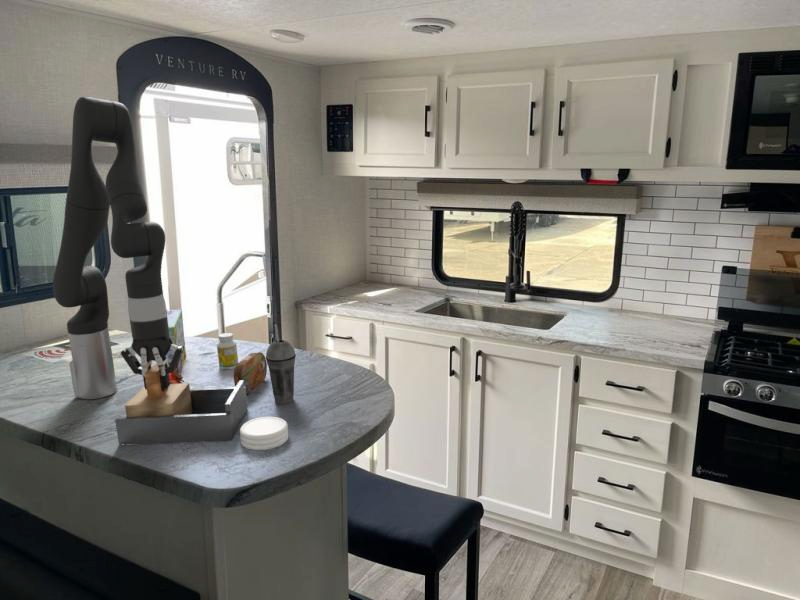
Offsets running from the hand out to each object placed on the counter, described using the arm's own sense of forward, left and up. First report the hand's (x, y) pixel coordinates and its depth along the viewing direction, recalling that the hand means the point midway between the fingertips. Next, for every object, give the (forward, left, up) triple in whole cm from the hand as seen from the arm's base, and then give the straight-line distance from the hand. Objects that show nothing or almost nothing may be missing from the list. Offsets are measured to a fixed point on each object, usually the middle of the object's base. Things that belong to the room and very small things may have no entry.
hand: (158, 390), depth 137 cm
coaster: (+24, -8, -10) cm, 27 cm away
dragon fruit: (-5, +18, -9) cm, 21 cm away
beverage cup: (+25, +13, -9) cm, 30 cm away
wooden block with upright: (0, 0, -8) cm, 8 cm away
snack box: (-11, +41, -9) cm, 43 cm away
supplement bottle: (+5, +40, -9) cm, 41 cm away
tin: (+15, +23, -9) cm, 29 cm away
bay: (+5, 0, -9) cm, 11 cm away
